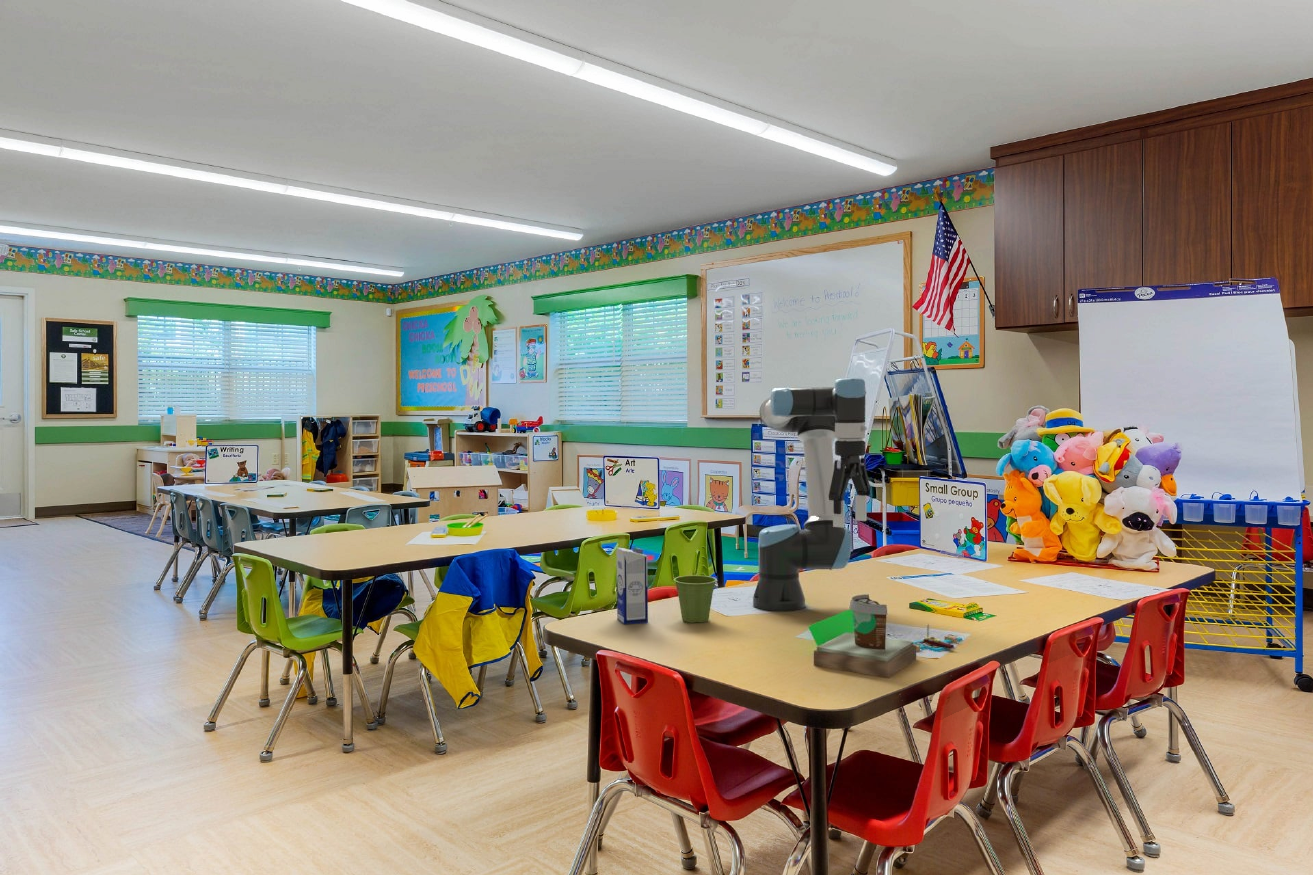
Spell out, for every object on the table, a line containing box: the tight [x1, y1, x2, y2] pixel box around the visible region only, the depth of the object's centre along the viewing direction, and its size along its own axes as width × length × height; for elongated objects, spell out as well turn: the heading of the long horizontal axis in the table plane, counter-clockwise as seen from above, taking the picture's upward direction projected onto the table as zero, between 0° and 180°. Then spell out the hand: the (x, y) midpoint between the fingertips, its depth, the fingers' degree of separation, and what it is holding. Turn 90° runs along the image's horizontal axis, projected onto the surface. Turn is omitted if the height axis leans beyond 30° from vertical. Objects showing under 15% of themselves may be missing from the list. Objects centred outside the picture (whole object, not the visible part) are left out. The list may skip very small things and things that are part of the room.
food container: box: [848, 594, 888, 650], centre depth 191 cm, size 12×6×10 cm, turn 5°
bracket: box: [807, 608, 854, 647], centre depth 209 cm, size 20×10×7 cm, turn 141°
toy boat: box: [912, 624, 963, 653], centre depth 204 cm, size 20×5×9 cm
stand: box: [813, 632, 917, 679], centre depth 191 cm, size 17×17×4 cm
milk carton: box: [616, 546, 649, 625], centre depth 234 cm, size 7×7×20 cm
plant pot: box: [673, 574, 718, 624], centre depth 233 cm, size 12×12×11 cm
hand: (850, 523), depth 217 cm, fingers open, 13 cm apart
